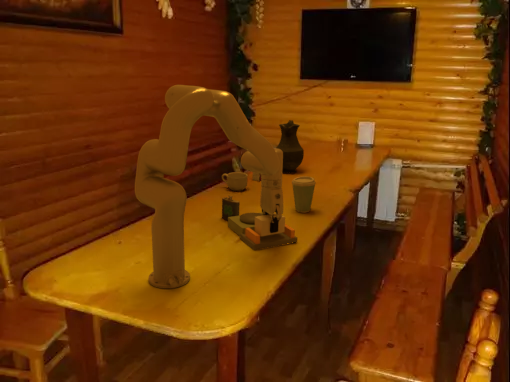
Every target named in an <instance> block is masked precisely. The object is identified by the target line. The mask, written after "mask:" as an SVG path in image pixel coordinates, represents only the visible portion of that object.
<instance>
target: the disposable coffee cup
mask: <svg viewBox="0 0 510 382" xmlns="http://www.w3.org/2000/svg"><path fill="white" fill-rule="evenodd" d="M291 184H292V192H293V200H294V207H295V208H294V209H295V211H296V212H298V213H302V214H303V213H309V212H310V211H311V209H312V203H313V198H314V192H315V187H316V185H317V183H316V181H315V178H314V177H312V176H309V175H307V176H306V175H301V176H298V177H295V178H293V179H292V180H291Z"/></svg>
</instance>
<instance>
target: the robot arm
mask: <svg viewBox="0 0 510 382" xmlns="http://www.w3.org/2000/svg"><path fill="white" fill-rule="evenodd" d="M164 103H165V105H166V107H167V108H168V110H167V112H166V113H165V115H164V117H163V119H162V122H161V126H160V130H159V136H158V137H159V138H153V139H149V140H147V141H146V142H145V143H144V144H143V145H142V146H141V148H140V149H139V152H138V155H137V161H136V162H137V163H136V171H135V179H134V195H135V198H136V199H137V200H138V201H139V202H140V203H141V204H143V205H145V206H147V207H149V208H152V209H154V214H153V218H152V221H151V242H152V243H151V244H152V245H151V246H152V247H151V248H152V249H151V250H152V270H153V271H152V272H151V273H150V274H149V275H148V283H149V284H150V285H151V286H153V287H154V288H159V289H175V288H180V287H182V286H186V284H188V283H189V282H190V280H191V274H190V272H189V271H188V270H187V269H186V267H185V266H186V265H185V260H186V259H185V210H186V206H187V199H188V197H187V192H186V190H185V188H184V187H183V185H181V183H179V182H176V181H175V180H171V179H169V178H166V177H164V175H165V176H166V175H167V176H171V177H174V176H175V177H176V176H179V175H181V174H182V173H183V172H184V171H185V168H186V165H187V159H188V151H189V146H190V145H189V143H190V137H191V132H192V129H193V127H194V125H195V124H196V122H197V121H198V120H199V119H200V118H201V117H204V116H206V117H213V118H214V119H215V120H216V122H217V123H218V125H219V126H220V128H221V129H222V131H223V132H224V134H225V136H226V137H227V139H228V140H229V141H230V142H232V143H233V144H234V145H236V146H238V147H240V148H241V149H244V150H245V152H243V154H242V155H241V157H240V165H241V166H242V168H243V169H244V170H245V171H247V172H251V173H253V172H255V173H260V174H261V181H260V182H261V183H260V186H261V187H260V189H261V190H260V199H259V200H260V201H259V202H260V203H259V204H260V205H259V206H260V208H261V213H262V216H263V215H268V214H270V215H271V222H270V233H275V232H278V223H279V220H280V219H281V218H282V215H283V214H284V193H283V192H284V191H283V188H282V187H283V173H282V169H283V152H282V150H280V149H277V148H276V147H274V146H273V145H272V143H271V141H269V140H268V139H267V138H266V137H265V136H264V135H263V134H262V133H260V132H259V130H257V129H256V128H255V127H254V126H252V125H251V123H250V122H249V120H248V119H247V116H246V114H244V112H243V110H242V108H241V106H240V104H239V103H238V101H237V100H236V98H235V97H234V95H233V94H232V93H230V91H229V92H228V91H226V90H220V89H219V90H218V89H209V88H206V87H203V86H199V85H197V86H196V85H186V84H175V85H172V86H170V87H169V88H168V89H167V90H166V92H165V95H164ZM274 213H276V214H274ZM273 216H276V217H275V218H274V217H273Z"/></svg>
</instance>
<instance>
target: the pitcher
mask: <svg viewBox="0 0 510 382" xmlns="http://www.w3.org/2000/svg"><path fill="white" fill-rule="evenodd" d="M278 126H279V129H280V131H281V137H280V140H279V143H278V144H277V146H276V147H275V148H277V149H280V150H282V152H283V169H282V174H295V173H297V172H298V171H297V169H298V168H299V166H301V164H302V163H303V161H304V157H305V155H304V154H305V152H304V151H305V150H304V148H303V147H302V145H301V144H300V141H299V139H298V135H297V132H298V129H299V128H300V124H297V123H294V120H291V119H289V120H288V121H287V123H280V124H278Z"/></svg>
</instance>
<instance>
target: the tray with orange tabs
mask: <svg viewBox="0 0 510 382" xmlns="http://www.w3.org/2000/svg"><path fill="white" fill-rule="evenodd" d="M257 216H262V212H246V213H242V214H239V216H233V217H228V221H227V227H228V228H230V230H232V231H233V232H235V234H237V235H238V236H239V239H240V240H241V241H242V242H243V243H245V244H246V245H247V246H248V247H250V249H252V250H253V251H257V249H258V250H263V249H262V248H264V249H268V248H267V247H270V248H274V247H273V246H275V247H279V246H278V245H281V246H283V245H282V244H287V243H292V242H297V243H298V237H297V236H296V235H295V231H296V230H295V229H294V228H292V227H291V226H289V225H287V224H286V223H285V231H284V232H282V233H277V234H272V235H267V236H260V235H258V234H257V233H256V232H255V217H257ZM292 244H293V243H292ZM287 245H288V244H287Z"/></svg>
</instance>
